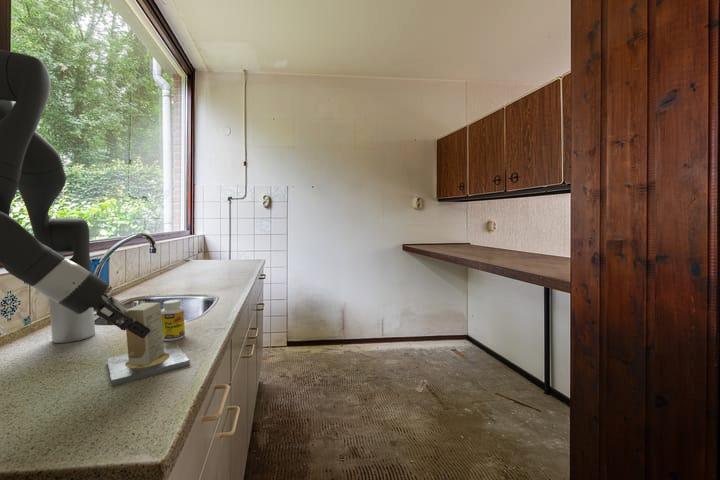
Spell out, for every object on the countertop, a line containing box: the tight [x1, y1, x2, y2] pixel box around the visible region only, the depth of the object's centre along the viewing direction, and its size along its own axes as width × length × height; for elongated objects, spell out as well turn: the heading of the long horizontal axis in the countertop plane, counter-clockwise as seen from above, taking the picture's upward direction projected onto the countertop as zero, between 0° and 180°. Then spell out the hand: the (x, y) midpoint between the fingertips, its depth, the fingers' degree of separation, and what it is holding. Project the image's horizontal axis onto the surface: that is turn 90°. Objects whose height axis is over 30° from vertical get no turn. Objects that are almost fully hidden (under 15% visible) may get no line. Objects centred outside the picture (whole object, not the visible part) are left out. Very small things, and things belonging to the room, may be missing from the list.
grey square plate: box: [106, 342, 191, 387], centre depth 76 cm, size 14×14×1 cm
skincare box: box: [124, 302, 165, 365], centre depth 75 cm, size 6×4×12 cm
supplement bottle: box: [161, 299, 186, 342], centre depth 92 cm, size 6×6×10 cm
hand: (144, 329), depth 75 cm, fingers open, 8 cm apart
